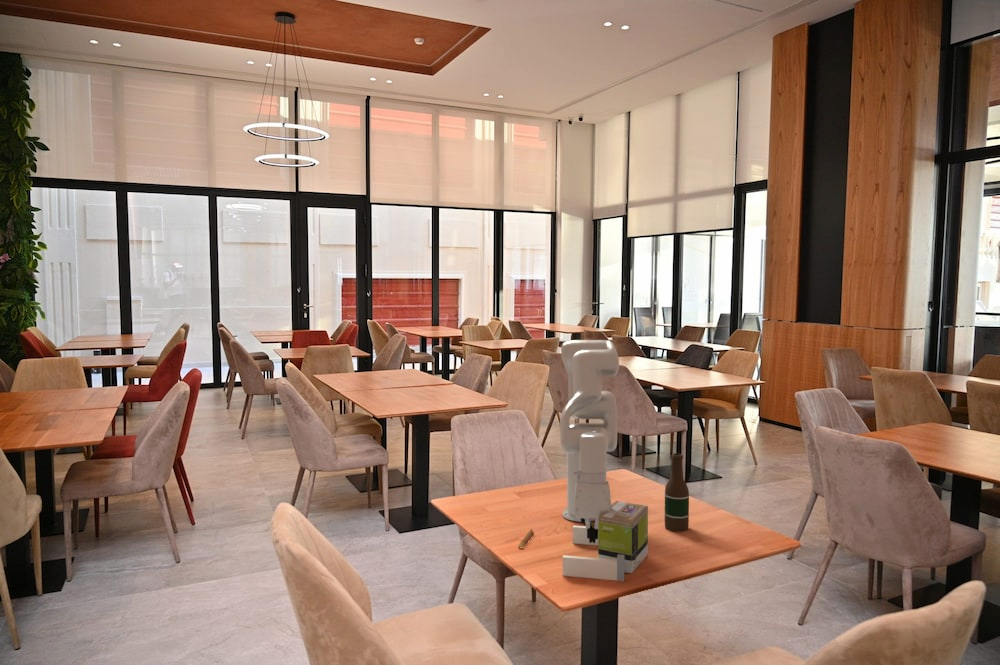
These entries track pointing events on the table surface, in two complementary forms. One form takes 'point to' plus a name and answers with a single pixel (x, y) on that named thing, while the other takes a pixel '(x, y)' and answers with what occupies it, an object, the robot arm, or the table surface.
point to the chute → (592, 561)
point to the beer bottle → (676, 498)
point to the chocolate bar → (526, 538)
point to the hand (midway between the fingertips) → (592, 541)
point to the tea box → (624, 534)
